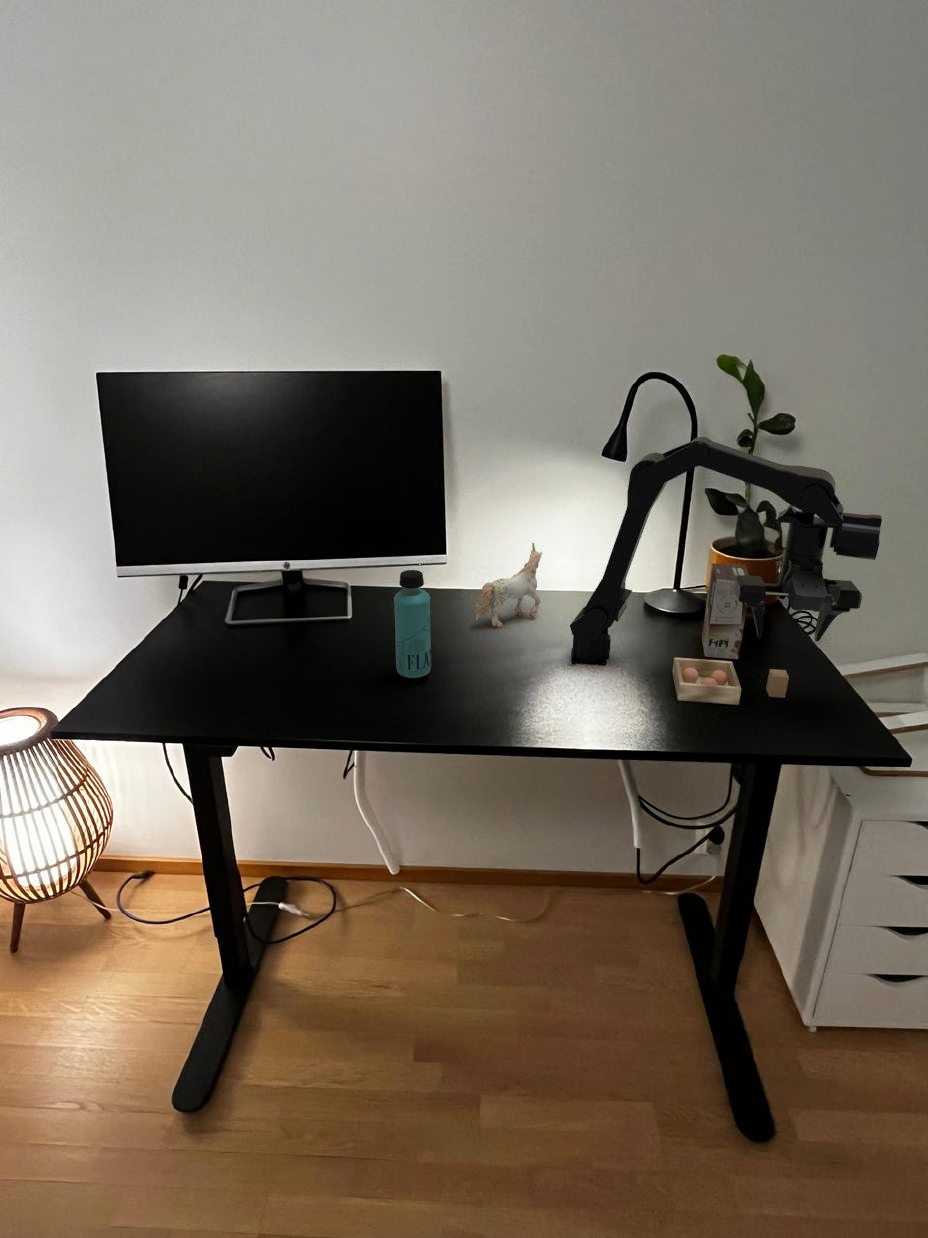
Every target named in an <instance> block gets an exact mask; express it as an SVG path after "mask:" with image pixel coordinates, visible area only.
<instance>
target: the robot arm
mask: <svg viewBox="0 0 928 1238" xmlns="http://www.w3.org/2000/svg"><path fill="white" fill-rule="evenodd" d="M697 467H702V468H705V469H708V470H710V471H713V472H715V473H719V474H721V475H726V476H728V477H731V478H734V479H736V480H739V481H742V482H744V483H747V484H750V485H753V486H757V487H759V488H761V489H765V490H768V491H769V492H771V493H773V494H775V495H776V496H777V497H779V498H780V499H781V500H783V502H785V503H786V504H788V507H787V508H785V509H784V510H781V511H780V512H778V516H777V522H778V523H785V524H788V530H787V534H786V540H785V546H784V549H783V550H782V555H781V556H782V562H781V568H780V569H781V570H780V573H778V577H777V578H778V583H769V582H767V583H766V582H764V579H763V578H762V577H761V575H749V576H748V575H739V576H738V577H737V578H736V580H735V584H734V591H735V594H736V596H737V598H738V601H740V602H743V603H745V605H746V606H747V608H751V612H752V616H753V620H754V626H755V631H756V635H757V638H758V639H761V638H762V634H763V627H764V614H765V613H764V611H765V608H766V604H765V602H764V601H765V599H766V596H773V597H775V596H776V597H788V600H789V607H790V608H791V609H792V610H794V611H798V612H800V611H813V612H816V613H817V612H818V616H817V620H816V625H815V629H814V630H815V631H814V641H815V642H820V640H821V639H822V637H823V636H824V634H825V633H826V631H827V630H828V628H829V627H830V625H831V624H832V622H833V621H834V620H835V619H836V618H837V617H838V616H840V615H842V614H843V613H849V612H850V611H852V610H853V609H854V610H859V609H860V608H861V606H862V605H861V604H862V600H863V596H862V592H861V591H860V589H859V588H858V587H857V586H856V584H854V583H853V581H852V580H845V579H843V580H842V579H829V578H824V575H823V574H824V573H823V569H824V567H823V566H824V563H823V556H824V551H825V547H826V541H827V535H828V530H829V529H832V530H831V534H830V541H829V545H828V546H829V549H833V553H835V556H838V557H840V556H841V557H847V558H854V559H862V560H871V561H875V560H876V559H877V555H878V552H879V548H880V534H881V526H882V522H883V518H882V517H883V516H882V515H880V514H860V513H852V512H851V513H850V512H844V509H845V508H844V506H843V504H842V503H841V502H840V500H839V498H838V497H837V494H836V481H835V478H834V476H833V475H832V473H830V471H827V470H826V469H822V468H816V467H811V466H804V465H793V464H792V465H789V464H781V463H777V462H774V461H772V460H768V459H766V458H763V457H760V456H758V455H757V456H756V455H754V454H751V453H749V452H746V451H743V450H740V449H737V448H734V447H730V446H727V445H725V444H722V443H719V442H716V441H713V440H711V439H709V438H708V437H706V436H698V437H695V438H694V439H692V441H689V442H686V443H685V444H682V445H680V446H677V447H674V448H672V449H670V450H667V451H665V452H663V453H660V452H650V453H648V454H646V455H644V456H643V457H642V458H641V459H640V460H639V461H638V462H637V463H635V465H634V466H632V469H631V471H630V473H629V477H628V478H629V479H628V485H627V495H626V498H627V501H626V502H627V504H626V509H625V512H624V514H623V516H622V517H623V518H622V521H621V524H620V527H619V529H618V532H617V535H616V539H615V541H614V544H613V546H612V549H611V552H610V555H609V558H608V561H607V564H606V567H605V570H604V573H603V576H602V578H601V579H600V581H599V583H598V585H597V586H596V588H595V590H594V591H593V593H592V595H591V596H590V598H589V600H588V602H587V603H586V605H585V606H583V608H582V609H581V610H580V612H578V614H577V615H576V617H575V618H574V619H573V621H571V623H570V625H569V628H570V631H571V635H572V646H571V650H570V653H571V655H570V664H571V665H572V666H575V665H589V666H607V663H608V662H607V661H609V660H610V652H611V643H612V638H611V637H612V636H611V634H610V633H609V628H611V627H612V626H613V624H614V623H615V622H619V621H620V619H621V618H622V617H623V614H624V613H625V612H626V609H627V608H628V607H627V603H628V599H629V597H630V595H632V593H633V590H632V589H628V588H626V582H627V581H626V580H627V577H628V574H629V571H630V568H631V565H632V563H633V560H634V557H635V554H636V551H637V549H638V546H639V543H640V541H641V538H642V536H643V533H644V529H645V527H646V524H647V522H648V518H649V516H650V513H651V510H652V509H653V507H654V506H655V504H656V502H657V500H658V499H659V498H660V496H661V494H662V492H663V491H664V490H665V487H666V486H667V483H669V481H671V480H673V479H675V478H677V477H679V476H681V475H683V474H685V473H686V472H689V471H690V470H693V469H694V468H697ZM797 509H798V510H797ZM815 515H816V516H815ZM851 609H852V610H851Z"/></svg>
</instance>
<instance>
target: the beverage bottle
mask: <svg viewBox="0 0 928 1238" xmlns="http://www.w3.org/2000/svg"><path fill="white" fill-rule="evenodd" d="M424 584H425V581H424V574H423V572H422V571H420V570H417V569H407V570H403V571H402V572H400V574H399V586H400V587H401V589H400V590H399V591H398V592H397V593H396V594H395V595H394V597H393V601H394V619H395V620H394V625H395V626H394V627H395V655H394V657H395V665H396V666H395V667H396V672H397V673H398V674H399V675H400V676H402V677H405V678H411V679H415V678H417V679H418V678H422V677H425V676H426V675H428V674H429V673H430V672H431V668H432V660H433V659H432V647H431V646H432V640H431V639H432V637H431V636H432V635H431V630H432V629H431V624H432V614H431V610H432V608H431V604H430V603H431V596H430V594H429V593H428V592H427V591H426V590H425V589H423V588H421V587H423V586H424Z"/></svg>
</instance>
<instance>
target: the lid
mask: <svg viewBox="0 0 928 1238" xmlns="http://www.w3.org/2000/svg"><path fill="white" fill-rule="evenodd" d="M789 679H790V676H789V674H788V673H787V670H786V669H774V668H772V669H771V668H769V670H768V676H767V683H766V688H765V690H766V692H767V694H768V697H770V698H771V697H772V698H782V699H783V698H786V694H787V691H788V690H787V689H788V684H789Z"/></svg>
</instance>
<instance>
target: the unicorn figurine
mask: <svg viewBox="0 0 928 1238" xmlns="http://www.w3.org/2000/svg"><path fill="white" fill-rule="evenodd" d="M531 544H532V546H531V547H532V549H531V550H530V555H529V559H528V561H527V562H526V563H525V564H524V565H523V568H522V569H520V571H518V572H517V573H516V574H514V575H512V576H511V577H509V578H508V577H507V578H505V577H503V578H502V577H501V578H497V579H495V580H494V581H492V582H491V581H490V582H489V581H488V582H486V583H484V584H483V586H482V587H481V592H480V594H479V598H478V599H479V602H478V604H476V607H477V608H476V609H475V611H474V612H475V613H476V614H475V621H478V620H479V619H480V618H481V617H484V616H485V615H486V613H487V612H488V609H489V608H491V610H490V613H491V614H492V618H491V624H492V626H493V627H497V628H499V629H501V628H503V626H504V624H503V623H502V622H501V621H500V620H499V611H500V609H501V608H502V607H503V606H504V603H506V601H507V600H508V599H517V604H516V606H515V608H514V609H513V610H514V611H513V613H514V614H513V615H514V616H517V615H518V616H520V617H521V616H523V615H524V612H523V610H522V609H521V604H522V601H523V600H524V599H523V598H524V597H525V596H529V597H530V598H531V599H533V600H534V605H533V606H532V607H531V608H530V609H529V613H528V617H529V619H530V620H534V619H535V617H536V615H537V613H538V611H539V606H540V603H541V598H540V596H539V595H538V594H537V591H536V590H537V588H538V581H537V578H536V577H537V575H536V574H537V569H538V568H539V565H540V564H539V563H540V561H541V558H542V554H543V551H541V552H539V551H536V547H535V542H532V543H531ZM495 602H496V603H495Z"/></svg>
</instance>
